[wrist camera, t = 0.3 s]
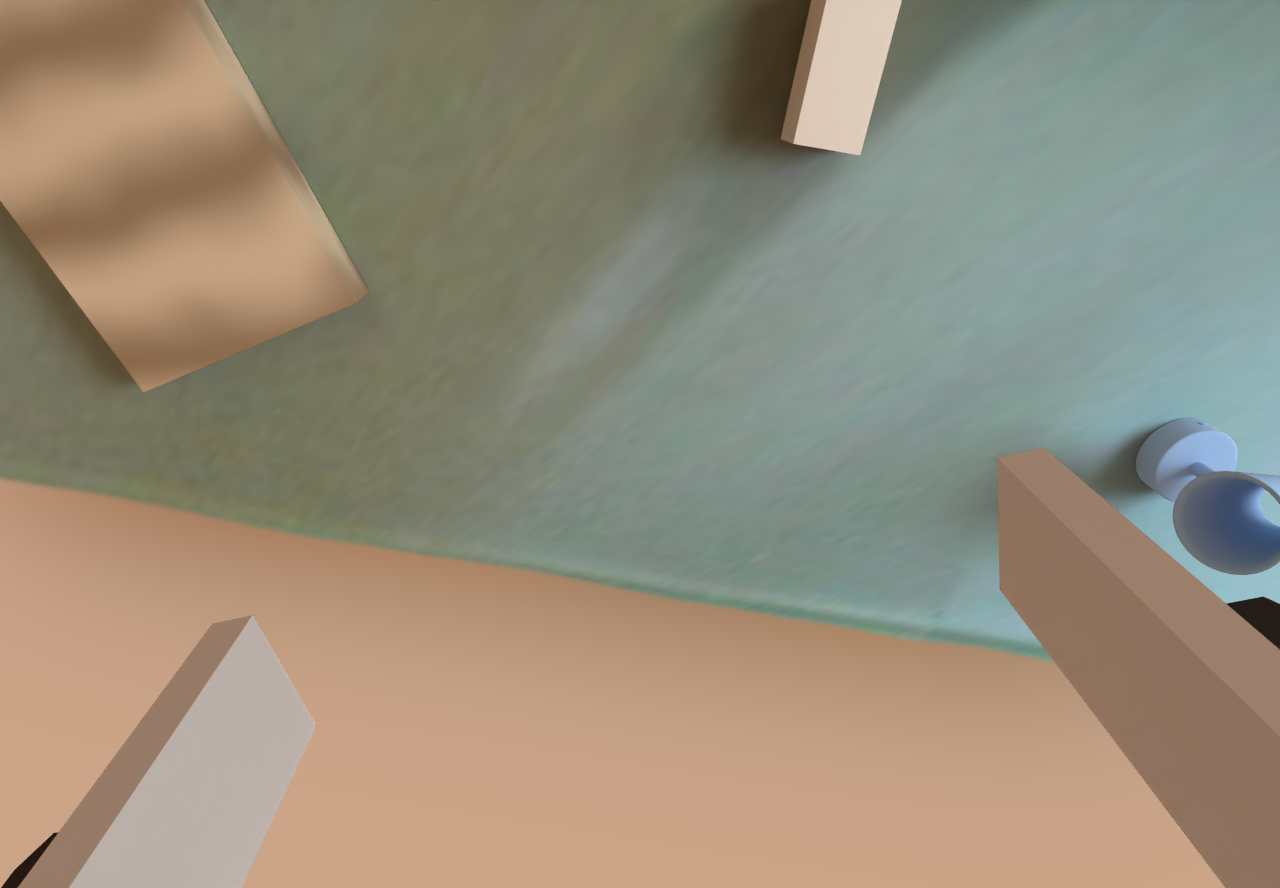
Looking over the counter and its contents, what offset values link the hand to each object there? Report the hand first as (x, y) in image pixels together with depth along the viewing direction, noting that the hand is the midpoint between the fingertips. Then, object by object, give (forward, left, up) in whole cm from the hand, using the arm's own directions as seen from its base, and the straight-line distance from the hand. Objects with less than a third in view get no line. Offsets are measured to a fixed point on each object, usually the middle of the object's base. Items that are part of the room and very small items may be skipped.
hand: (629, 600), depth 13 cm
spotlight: (+22, +25, -27) cm, 42 cm away
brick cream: (-4, +12, -27) cm, 30 cm away
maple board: (-11, -18, -26) cm, 34 cm away
